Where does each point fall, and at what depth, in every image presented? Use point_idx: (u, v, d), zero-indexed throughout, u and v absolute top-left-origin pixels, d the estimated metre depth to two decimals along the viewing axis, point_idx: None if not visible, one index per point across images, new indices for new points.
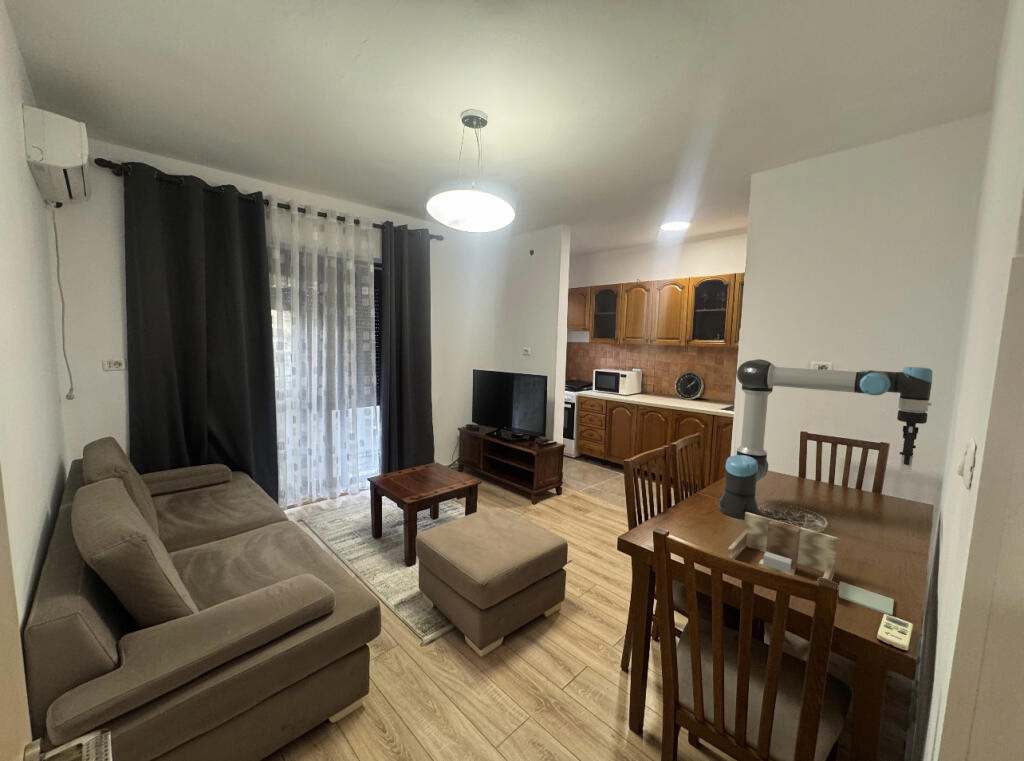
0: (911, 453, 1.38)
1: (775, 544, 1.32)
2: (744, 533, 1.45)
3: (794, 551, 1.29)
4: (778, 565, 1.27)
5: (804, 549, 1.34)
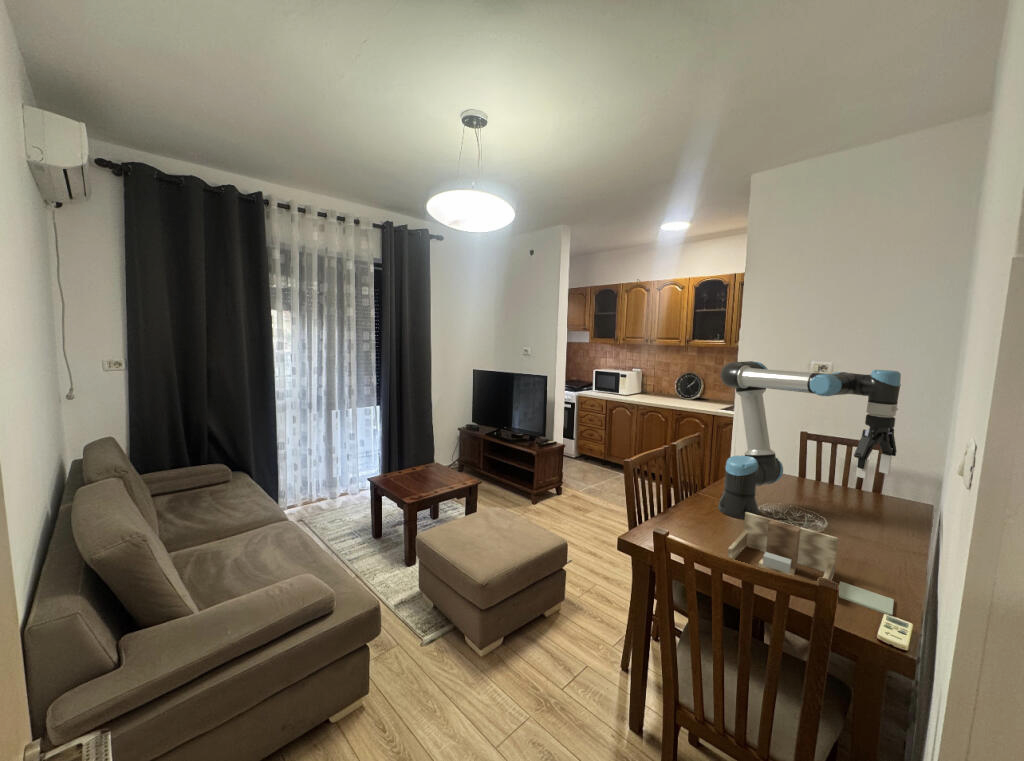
0: (861, 456, 1.37)
1: (775, 544, 1.32)
2: (744, 533, 1.45)
3: (794, 551, 1.29)
4: (778, 565, 1.27)
5: (804, 549, 1.34)
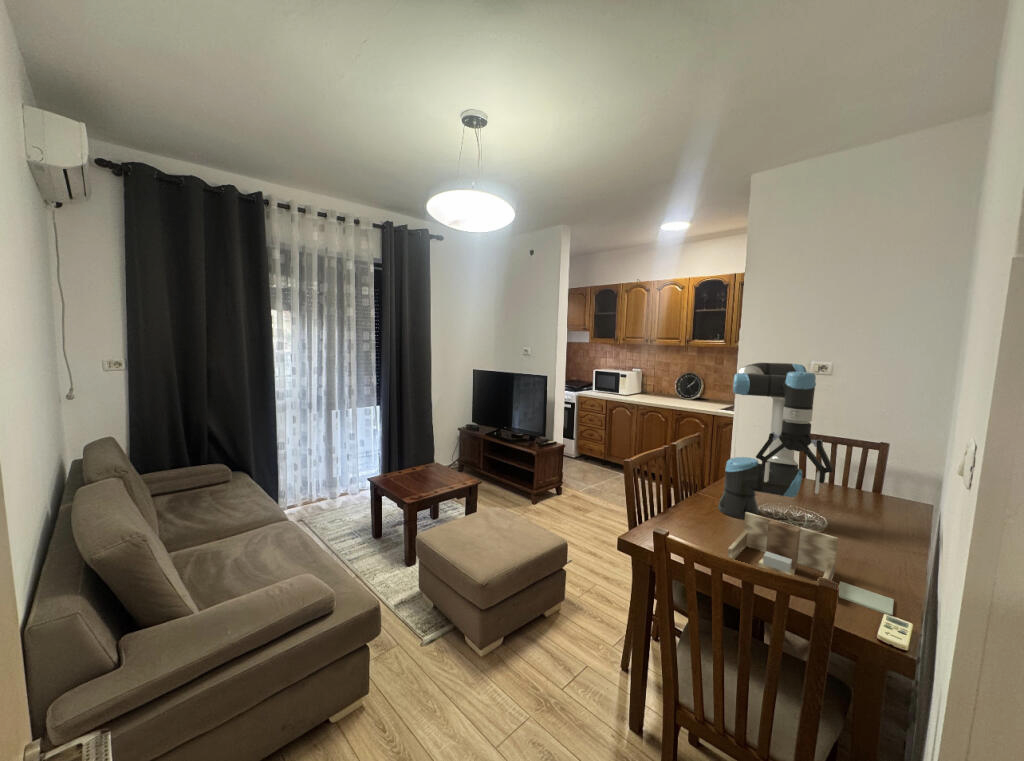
0: None
1: (775, 544, 1.32)
2: (744, 533, 1.45)
3: (794, 551, 1.29)
4: (778, 565, 1.27)
5: (804, 549, 1.34)
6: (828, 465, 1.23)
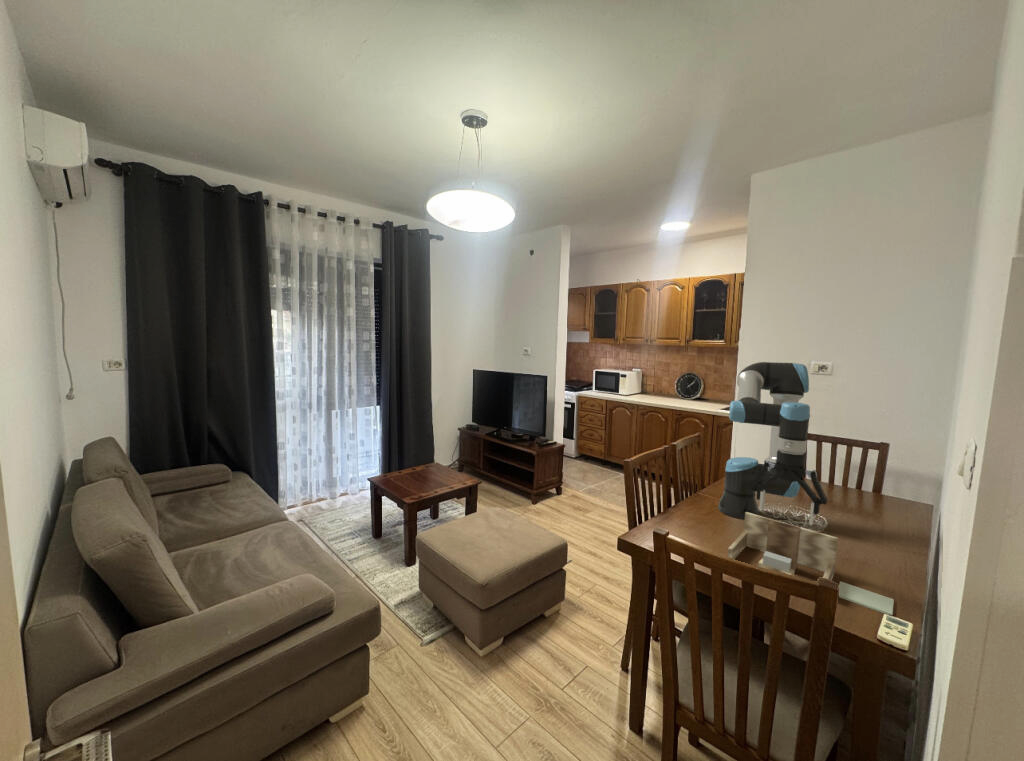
0: None
1: (775, 544, 1.32)
2: (744, 533, 1.45)
3: (794, 551, 1.29)
4: (778, 564, 1.27)
5: (804, 549, 1.34)
6: (822, 497, 1.23)
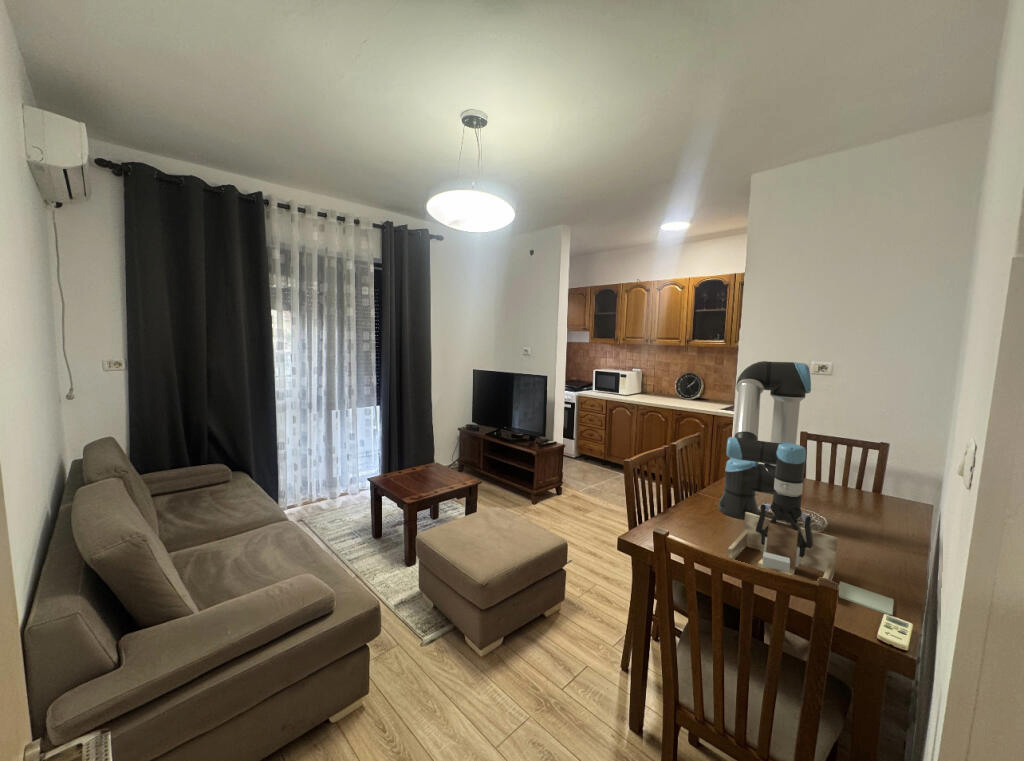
0: None
1: (775, 544, 1.32)
2: (744, 533, 1.45)
3: (794, 551, 1.29)
4: (778, 565, 1.27)
5: None
6: (809, 541, 1.27)
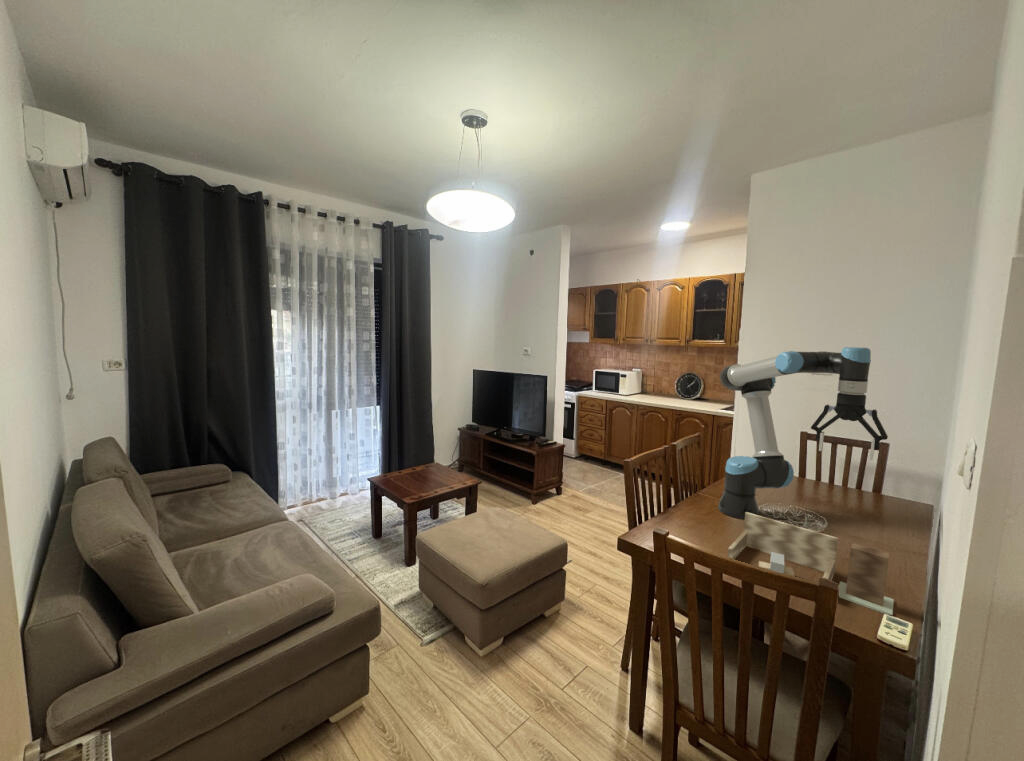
0: None
1: (859, 572, 1.16)
2: (744, 533, 1.45)
3: (883, 580, 1.13)
4: None
5: (804, 549, 1.34)
6: (883, 433, 1.32)
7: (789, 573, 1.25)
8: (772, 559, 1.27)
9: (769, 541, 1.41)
